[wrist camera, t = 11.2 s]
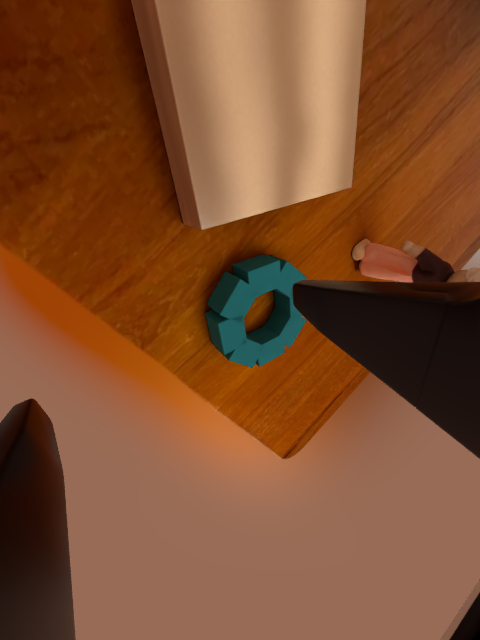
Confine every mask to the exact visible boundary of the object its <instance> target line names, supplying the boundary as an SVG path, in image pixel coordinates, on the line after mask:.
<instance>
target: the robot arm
mask: <svg viewBox="0 0 480 640" xmlns="http://www.w3.org/2000/svg"><path fill="white" fill-rule="evenodd" d="M292 290H293V305H294V307H295V308H296V309H297V310H298V311H299V312H300V313H301V314H302V315H303V316H304V317H305V318H306V319H307V320H308V321H309V322H310V323H311V324H312V325H313V326H314V327H315V328H316V329H318V330H319V331H320V332H321V333H322V334H323V335H325V336H326V337H327V338H328V339H330V340H331V341H332V342H333V343H335V344H336V345H337V346H338V347H340V348H341V349H342V350H343V351H345V352H346V353H347V354H348V355H350V356H351V357H352V358H354V359H355V360H356V361H357V362H359V363H360V364H361V365H362V366H364V367H365V368H366V369H367V370H369V371H370V372H371V373H372V374H374V375H375V376H376V377H378V378H379V379H380V380H381V381H383V382H384V383H385V384H386V385H388V386H389V387H390V388H392V389H393V390H394V391H395V392H396V393H398V394H399V395H400V396H402V397H403V398H404V399H405V400H406V401H408V402H409V403H410V404H412V405H413V406H414V407H416V409H418V410H419V411H420V412H421V413H423V414H424V415H425V416H426V417H428V418H429V419H430V420H431V421H433V422H434V423H435V424H436V425H438V426H439V427H440V428H441V429H443V430H444V431H445V432H447V433H448V434H449V435H450V436H452V437H453V438H454V439H456V440H457V441H458V442H459V443H460V444H462V445H463V446H464V447H465V448H467V449H468V450H469V451H470V452H472V453H473V454H474V455H476V456H477V457H478V458H479V459H480V282H397V283H396V282H372V281H327V280H301V281H299V282H296V283H294V284H293V287H292ZM0 640H76V639H75V626H74V612H73V598H72V584H71V570H70V556H69V543H68V528H67V515H66V500H65V486H64V476H63V469H62V464H61V460H60V455H59V451H58V447H57V442H56V438H55V433H54V429H53V425H52V422H51V420H50V418H49V417H48V415H47V414H46V413H45V412H44V410H43V409H42V408H41V406H40V405H39V404H38V403H37V401H36V400H34V399H28V400H26V401H24V402H22V403H19V404H17V405H15V406H14V407H13V408H12V409H11V410H10V411H9V413H8V414H7V415H6V416H5V418H4V419H3V420H2V421H1V423H0ZM441 640H480V580H479V581H478V583H477V585H476V586H475V587H474V589H473V591H472V592H471V594H470V595H469V597H468V598H467V600H466V601H465V603H464V604H463V606H462V607H461V609H460V610H459V612H458V613H457V615H456V617H455V618H454V620H453V621H452V623H451V624H450V626H449V627H448V629H447V630H446V632H445V633H444V635H443V636H442V638H441Z"/></svg>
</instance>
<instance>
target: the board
mask: <svg viewBox="0 0 480 640" xmlns="http://www.w3.org/2000/svg"><path fill="white" fill-rule="evenodd" d="M131 2H132V6H133V11H134V15H135V19H136V23H137V28H138V32H139V36H140V40H141V45H142V49H143V53H144V57H145V62H146V66H147V70H148V75H149V79H150V83H151V87H152V92H153V96H154V100H155V104H156V109H157V113H158V117H159V121H160V126H161V130H162V134H163V138H164V143H165V147H166V151H167V155H168V160H169V164H170V168H171V173H172V177H173V181H174V185H175V190H176V194H177V198H178V202H179V207H180V211H181V215H182V219H183V223H184V224H186V225H188V226H191V227H194V228H197V229H200V230H204V229H208V228H211V227H215V226H218V225H222V224H225V223H229V222H232V221H236V220H239V219H243V218H246V217H250V216H253V215H257V214H260V213H264V212H267V211H271V210H274V209H278V208H281V207H285V206H288V205H292V204H295V203H299V202H302V201H306V200H309V199H313V198H316V197H320V196H323V195H327V194H330V193H334V192H337V191H341V190H344V189H348V188H351V187H352V177H353V164H354V151H355V138H356V125H357V112H358V100H359V87H360V74H361V61H362V48H363V35H364V23H365V10H366V0H131Z"/></svg>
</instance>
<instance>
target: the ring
mask: <svg viewBox="0 0 480 640" xmlns="http://www.w3.org/2000/svg"><path fill="white" fill-rule="evenodd" d="M232 267H233V274H234V275H232V274H230V273H228V272H226V271H225V272H224V274H223V276H222V277H221V279H220V281H219V283H218V284H217V286H216V288H215V290H214V292H213V293H212V295H211V297H210V299H209V300H208V302H207V305H208V306H209V307H211V308H212V309H213V310H211V311H209V312H206V313H205V315H206V319H207V324H208V328H209V332H210V337H211V341H212V343H213V344H214V345H215V346H216V348H217V349H218V350H219V351H220V352H221V353H222V354H223V355H224V356H225V357H226V358H227V359H228V360H230V361H233V362H236V363H239V364H242V365H245V366H248V367H251V368H253V366H254V365H255V363H256V364H257V365H258V366H259V367H260V366H262V365H263V364H265V363H267V362H269V361H271V360H272V359H274V358H276V357H278V356H280V355H281V354H283V353H285V348H284V345H287V346H289V347H291V345H292V344H293V342H294V340H295V339H296V337H297V335H298V334H299V332H300V330H301V329H302V327H303V325H304V324H305V322H306V321H307V320H306V319H304V318H303V317H301V316H303V315H302V314H301V313H300V312H299V311H298V310H297V309H296V308H295V307H294V305H293V290H292V287H293V284H294V283H296V282H299V281H301V280H305V279H306V276H305V275H303V274H302V273H301V272H300V271H299V270H297V269H296V268H295V267H294V266H292V265H291V264H290V263H289V262H288V261H285V260H283V259H280V258H277V257H274V256H271V255H269V256H267V255H264V254H261V255H258V256H255V257H253V258H250V259H247V260H244V261H241V262H239V263H236V264H233V265H232ZM271 290H274V302H275V309H274V310H273V312H272V314H271V315H270V317H269V319H268V321H267V322H266V324H265V326H263V327H261V328H259V329H257V330H254V331H252V332H250V333H248V334H247V333H246V332H245V325H244V317H245V316H246V314H247V312H248V310H249V309H250V307H251V305H252V304H253V302H254V300H255V298H256V297H257V296H260V295H262V294H264V293H267V292H269V291H271Z"/></svg>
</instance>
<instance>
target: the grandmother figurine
mask: <svg viewBox="0 0 480 640" xmlns="http://www.w3.org/2000/svg"><path fill="white" fill-rule="evenodd" d="M401 248H402V250H403V251H405V252H408V253H409V254H410V255H412V256H413V257H415V258H411V257H409V256H408V255H406V254H404V253H402V252H400V251H399V250H396V249H394V248H391V247H387V246H383V245H380V244H376V243H370V241H369V240H368V239H364V240H362V241H361V242H359V243H358V244H357V245H356V246H355V247H354V249H353V252H352V256H353V259H354V260H361V259H362V260H361V262H360V264H359V270H360V271H361V274H362V275H364V276H369V277H373V278H379V279H386V280H394V281H400V282H480V268H471V269H469V270H460V271H457V272H455V273H454V270H453V268H452V267H451V265H450V264H449V263H447V262H445V261H443V260H442V259H440V258H439V257H438V256H436V255H435V254H433V253H432V252H431V251H429V250H428V249H426V248H422V247H421V246H419V245H415V244H414V243H413V242H412V241H409V240H408V241H405V242H404V243H403V244H402V246H401Z"/></svg>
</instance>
